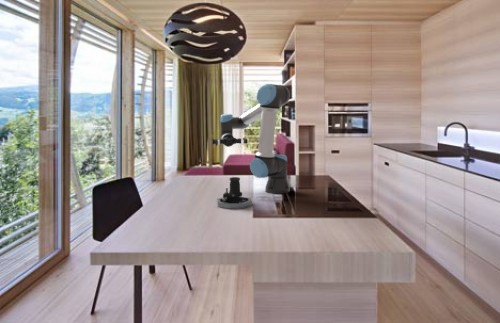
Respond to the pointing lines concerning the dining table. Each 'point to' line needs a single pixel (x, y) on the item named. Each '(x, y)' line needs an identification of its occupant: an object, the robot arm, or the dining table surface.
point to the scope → (233, 191)
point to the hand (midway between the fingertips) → (231, 142)
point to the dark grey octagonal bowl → (242, 203)
